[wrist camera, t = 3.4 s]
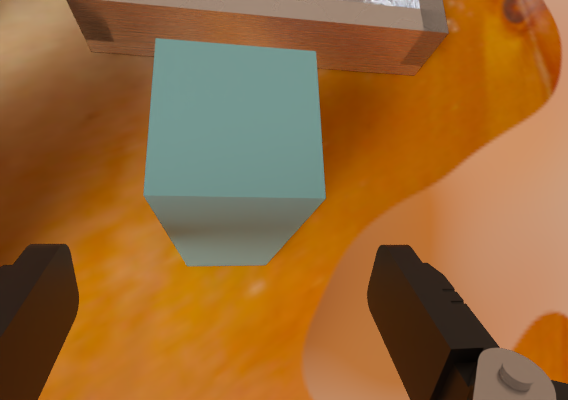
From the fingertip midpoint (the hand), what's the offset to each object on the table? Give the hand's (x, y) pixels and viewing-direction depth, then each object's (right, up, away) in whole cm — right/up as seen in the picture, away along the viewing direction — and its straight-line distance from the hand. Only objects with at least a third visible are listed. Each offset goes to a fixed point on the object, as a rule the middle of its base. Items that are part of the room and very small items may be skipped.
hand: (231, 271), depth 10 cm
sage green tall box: (-2, 0, +10) cm, 10 cm away
